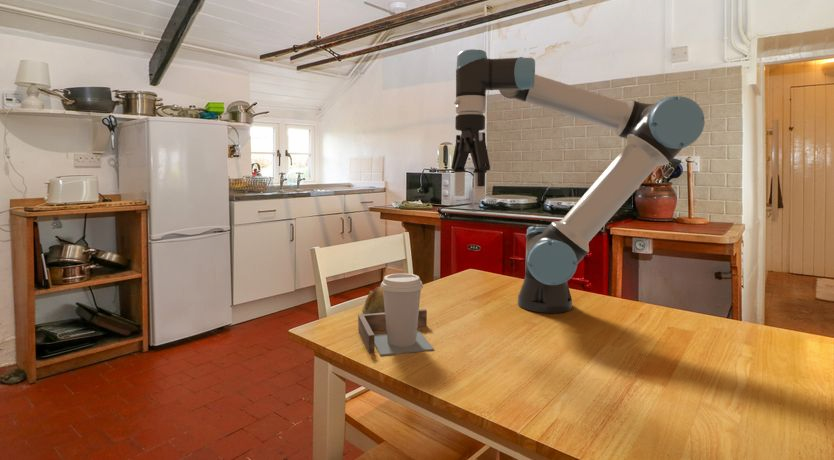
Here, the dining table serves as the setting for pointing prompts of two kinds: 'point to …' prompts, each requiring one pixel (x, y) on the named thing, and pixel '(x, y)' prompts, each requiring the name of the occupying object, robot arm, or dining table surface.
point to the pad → (388, 349)
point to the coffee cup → (401, 308)
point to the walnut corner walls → (379, 326)
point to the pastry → (374, 302)
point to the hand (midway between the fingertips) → (468, 197)
